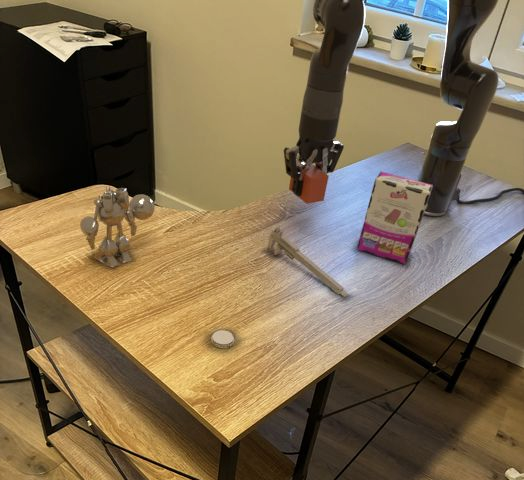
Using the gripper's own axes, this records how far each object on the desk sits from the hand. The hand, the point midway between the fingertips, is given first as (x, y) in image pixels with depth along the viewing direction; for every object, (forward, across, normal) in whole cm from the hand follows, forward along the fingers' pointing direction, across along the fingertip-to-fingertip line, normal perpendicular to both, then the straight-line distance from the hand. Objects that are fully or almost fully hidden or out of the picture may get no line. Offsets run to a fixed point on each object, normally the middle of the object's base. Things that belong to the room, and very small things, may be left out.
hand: (306, 192), depth 114 cm
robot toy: (+8, -40, +4) cm, 41 cm away
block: (+1, 0, 0) cm, 1 cm away
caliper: (+9, -9, -15) cm, 20 cm away
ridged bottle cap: (+8, -34, -26) cm, 44 cm away
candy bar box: (+9, +12, -15) cm, 21 cm away
